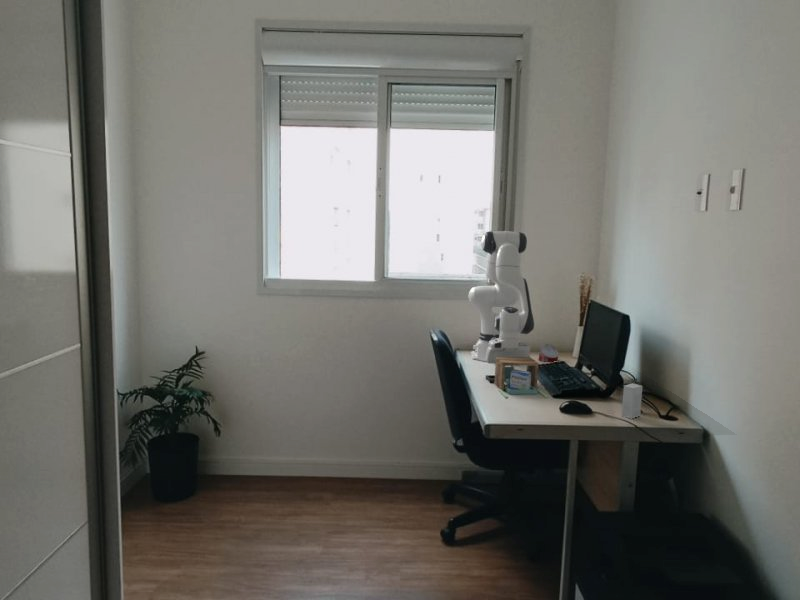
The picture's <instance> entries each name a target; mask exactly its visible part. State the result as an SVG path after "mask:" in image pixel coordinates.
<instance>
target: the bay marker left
mask: <svg viewBox="0 0 800 600" xmlns="http://www.w3.org/2000/svg"><path fill="white" fill-rule="evenodd" d="M498 392H499V393H500V394H501V395H502V397H504V398H505V399H509V396H508V395H507V393H506V392H505V391H502V390H501V389H499V388H498Z"/></svg>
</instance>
